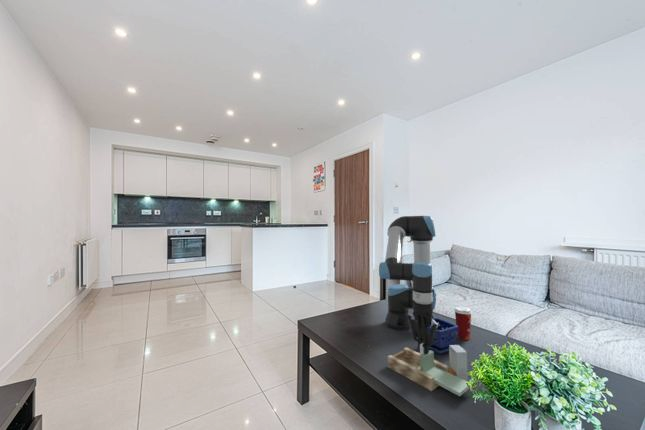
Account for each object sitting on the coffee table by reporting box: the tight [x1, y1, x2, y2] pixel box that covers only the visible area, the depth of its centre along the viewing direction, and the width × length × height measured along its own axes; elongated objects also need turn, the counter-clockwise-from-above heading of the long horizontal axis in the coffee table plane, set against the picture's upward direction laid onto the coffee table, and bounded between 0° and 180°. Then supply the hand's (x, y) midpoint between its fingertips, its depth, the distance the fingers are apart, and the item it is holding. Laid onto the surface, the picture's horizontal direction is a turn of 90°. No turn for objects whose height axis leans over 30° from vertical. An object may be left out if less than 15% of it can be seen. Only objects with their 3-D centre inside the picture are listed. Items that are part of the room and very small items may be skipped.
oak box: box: [387, 347, 450, 392], centre depth 108 cm, size 20×13×4 cm, turn 37°
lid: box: [418, 349, 470, 397], centre depth 100 cm, size 18×8×7 cm, turn 36°
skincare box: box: [448, 344, 469, 382], centre depth 103 cm, size 6×4×12 cm
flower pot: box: [429, 317, 458, 355], centre depth 128 cm, size 13×13×12 cm
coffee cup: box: [453, 306, 473, 341], centre depth 139 cm, size 8×8×15 cm
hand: (423, 360), depth 106 cm, fingers closed
